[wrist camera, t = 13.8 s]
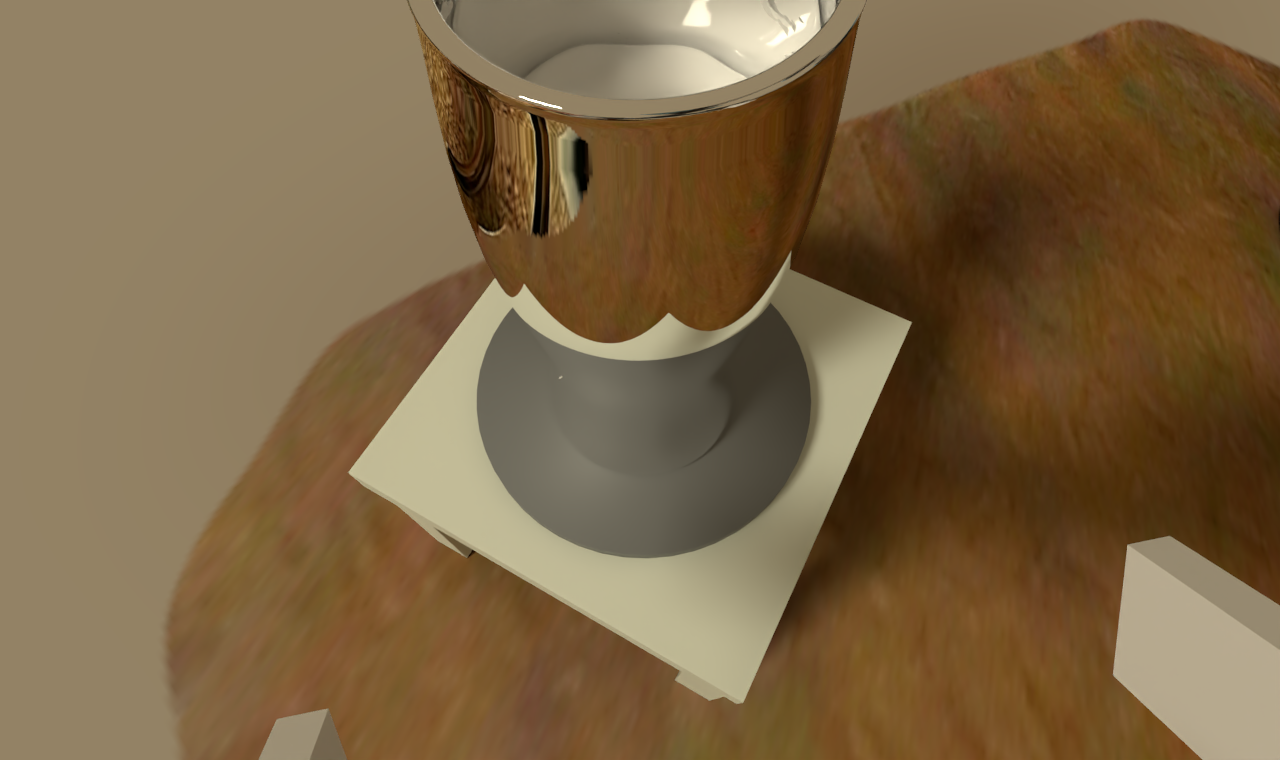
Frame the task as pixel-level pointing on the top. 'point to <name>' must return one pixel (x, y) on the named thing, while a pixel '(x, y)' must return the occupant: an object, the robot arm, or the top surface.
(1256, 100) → the top surface
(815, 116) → the beer glass
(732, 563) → the stool
